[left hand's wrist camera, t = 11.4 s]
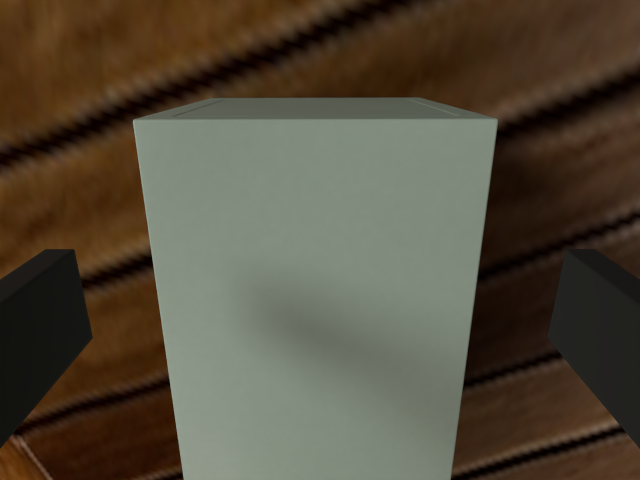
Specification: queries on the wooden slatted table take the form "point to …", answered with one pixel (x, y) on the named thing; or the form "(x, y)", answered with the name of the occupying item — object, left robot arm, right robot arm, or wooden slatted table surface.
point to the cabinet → (316, 281)
